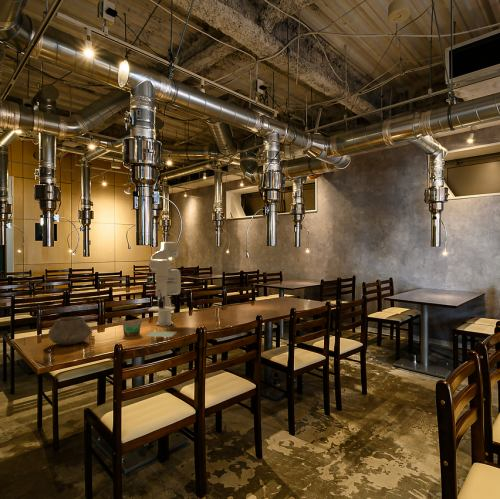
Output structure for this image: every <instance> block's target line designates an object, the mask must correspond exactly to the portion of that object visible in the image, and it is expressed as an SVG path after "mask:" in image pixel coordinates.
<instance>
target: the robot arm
mask: <svg viewBox="0 0 500 499" xmlns="http://www.w3.org/2000/svg"><path fill="white" fill-rule="evenodd" d="M179 254H180V246H179V243H178V242H176V241H163V242H160V243H159V244H158V246H157V247H156V250H155V252H154V253H153V254H152V255H151V256H150V259H149V264H148V266H149V269H150V270H151V271H155V297H157V307H163V300H165V307H172V300H171V298H170V297H169V296H171V295H173V296H175V295H177V296H178V295H180V294H181V289H182V286H181V282H182V281H181V278H182V275H181V270H179V269H178V268H172V262H171V260H170V259H169V258H177V257H178V256H179ZM171 324H172V325H173V324H174V322H173V321H172V311H157V322H155V326H158V325H159V326H160V327H164V326H165V327H167V326H166V325H168V326H171Z"/></svg>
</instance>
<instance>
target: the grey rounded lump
mask: <svg viewBox="0 0 500 499" xmlns="http://www.w3.org/2000/svg"><path fill="white" fill-rule="evenodd" d="M85 320H86V319H85V318H84V317H82V316H68V317H67V316H65V317H61V318H57V319H56V321H55V322H54V324H53V325H52V326H51V327H50V328H49V330H48V332H47V333H48V334H47V335H48V337H49V340H50V341H51V342H52V343H54V344H58V345H63V346H71V345H73V346H74V345H77V344H80V343H82V342H84V341H85V340H87V339H88V337H89V336H90V335H91V332H92V330H91V327H90V326H89V324H88V323H87V322H86V321H85Z"/></svg>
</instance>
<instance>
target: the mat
mask: <svg viewBox="0 0 500 499" xmlns="http://www.w3.org/2000/svg"><path fill="white" fill-rule="evenodd" d="M176 334H177V331H151V332H150V333H148V334H146V337H152V338H153V337H156V338H157V337H167V338H169V337H173V336H174V335H176Z"/></svg>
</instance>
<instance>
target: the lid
mask: <svg viewBox="0 0 500 499" xmlns="http://www.w3.org/2000/svg"><path fill="white" fill-rule="evenodd" d="M175 309H176V306H171V307H165V300H163V307H158V306H152V307H149V308H147V311H148V312H158V311H171V312H172V311H174V310H175Z"/></svg>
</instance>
